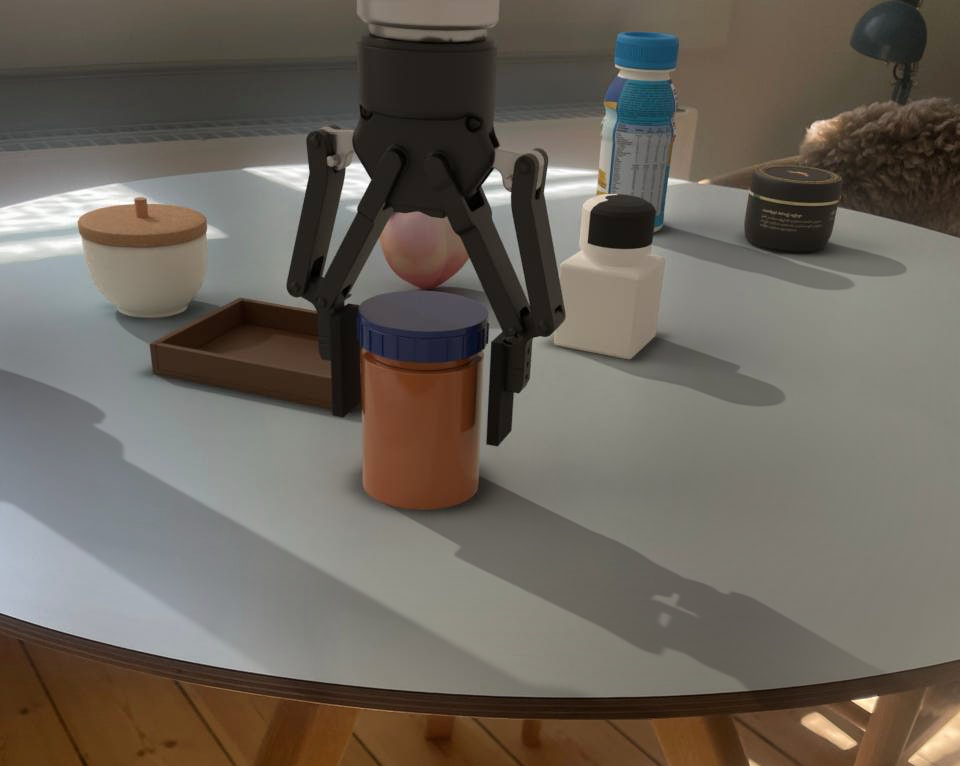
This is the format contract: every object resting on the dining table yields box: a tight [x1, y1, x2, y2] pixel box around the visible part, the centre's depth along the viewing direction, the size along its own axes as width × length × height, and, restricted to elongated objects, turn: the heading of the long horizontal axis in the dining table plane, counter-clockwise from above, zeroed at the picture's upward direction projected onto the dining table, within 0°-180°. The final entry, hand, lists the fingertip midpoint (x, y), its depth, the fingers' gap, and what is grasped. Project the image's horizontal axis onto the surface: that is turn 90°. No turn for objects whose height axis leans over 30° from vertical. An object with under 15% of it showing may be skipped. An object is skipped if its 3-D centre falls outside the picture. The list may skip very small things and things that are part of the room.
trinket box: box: [77, 196, 208, 319], centre depth 101 cm, size 11×11×9 cm
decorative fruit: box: [378, 211, 470, 291], centre depth 109 cm, size 9×8×10 cm
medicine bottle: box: [553, 194, 666, 360], centre depth 98 cm, size 7×7×12 cm
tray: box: [149, 297, 362, 414], centre depth 92 cm, size 17×13×2 cm
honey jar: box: [361, 347, 485, 511], centre depth 73 cm, size 8×8×11 cm
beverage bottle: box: [595, 31, 680, 233], centre depth 130 cm, size 8×8×20 cm
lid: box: [357, 290, 490, 363], centre depth 70 cm, size 8×8×2 cm
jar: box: [743, 164, 843, 255], centre depth 129 cm, size 10×10×8 cm
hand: (421, 423), depth 74 cm, fingers open, 10 cm apart
